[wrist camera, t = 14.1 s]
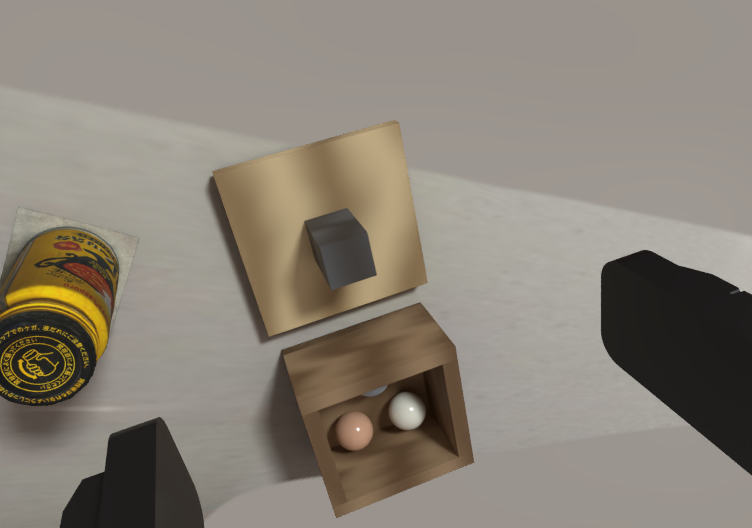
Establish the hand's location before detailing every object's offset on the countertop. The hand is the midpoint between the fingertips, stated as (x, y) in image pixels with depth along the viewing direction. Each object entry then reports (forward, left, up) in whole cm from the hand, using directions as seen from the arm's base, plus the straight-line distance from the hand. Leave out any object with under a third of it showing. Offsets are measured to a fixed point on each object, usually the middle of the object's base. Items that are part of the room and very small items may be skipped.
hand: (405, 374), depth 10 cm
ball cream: (+6, -28, -31) cm, 43 cm away
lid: (+4, -11, -32) cm, 34 cm away
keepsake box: (+4, -26, -32) cm, 41 cm away
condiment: (-14, -9, -33) cm, 37 cm away
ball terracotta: (+1, -28, -31) cm, 42 cm away
